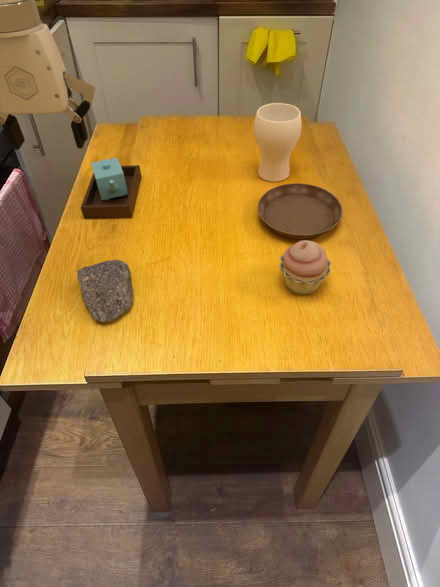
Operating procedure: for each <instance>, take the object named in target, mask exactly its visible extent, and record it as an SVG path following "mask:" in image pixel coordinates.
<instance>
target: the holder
mask: <svg viewBox="0 0 440 587" xmlns="http://www.w3.org/2000/svg"><path fill="white" fill-rule="evenodd" d="M121 168H122V171H123V173H124V178H125V182H126V186H127V191H128V195H125V196H124V197H120V196H119V197H114V198H110V199H109V200H102V199H101V196H100V193H99V189H98V186H97V182H96V179H95V175H94V172H93V173H92V175H91V178H90V181H89V183H88V186H87V190H86V192H85V194H84V196H83V200H82V203H81V205H80V211H81V214H82V216H83V219H84V220H102V219H103V220H104V219H105V220H107V219H133V215H134V211H135V206H136V202H137V197H138V194H139V189H140V185H141V181H142V172H141V171H142V170H141V167H140V164H135V165H134V164H133V165H121Z"/></svg>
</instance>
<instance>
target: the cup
mask: <svg viewBox="0 0 440 587" xmlns="http://www.w3.org/2000/svg"><path fill="white" fill-rule="evenodd" d="M301 114H302V113H301V110H300V109H299V108H298V107H297V106H295V105H293V104H289V103H285V102H273V103H272V102H271V103H267V104H264V105H262V106H260V107H259V108H258V109H257V111H256V113H255V118H254V122H253V136H254V140H255V143H256V145H257V147H258V150H259V155H260V161H259V165H258V168H257V174H258V176H259V177H260V178H261V179H263V180H265V181H268V182H281V181H285V180H286V179H288V177H290V174H291V173H290V171H291V170H290V158H291V154H292V152H293V150H294V148H295V147H296V146H297V144H298V142H299V139H300V137H301V134H302V126H303V124H302V122H303V121H302V115H301Z"/></svg>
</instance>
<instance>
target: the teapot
mask: <svg viewBox="0 0 440 587" xmlns="http://www.w3.org/2000/svg"><path fill="white" fill-rule="evenodd" d="M90 164H91V169H92V172H93V173H94V175H95V179H96V182H97V186H98V189H99V193H100V196H101V199H102V200H109V199H110V198H114V197H119V196H120V197H124V196H125V195H128V191H127V186H126V182H125V178H124V173H123V171H122V168H121V166H122V165H121V163H120V161H119V158H118V157H112V158H108V159H102V160H98V161H93V162H90Z"/></svg>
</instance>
